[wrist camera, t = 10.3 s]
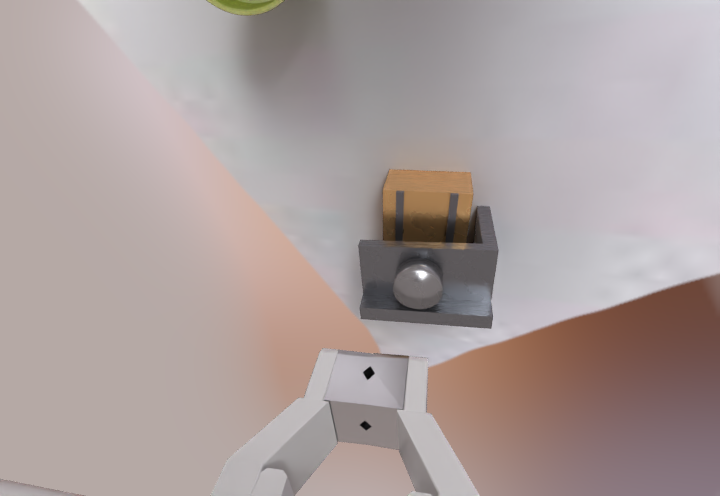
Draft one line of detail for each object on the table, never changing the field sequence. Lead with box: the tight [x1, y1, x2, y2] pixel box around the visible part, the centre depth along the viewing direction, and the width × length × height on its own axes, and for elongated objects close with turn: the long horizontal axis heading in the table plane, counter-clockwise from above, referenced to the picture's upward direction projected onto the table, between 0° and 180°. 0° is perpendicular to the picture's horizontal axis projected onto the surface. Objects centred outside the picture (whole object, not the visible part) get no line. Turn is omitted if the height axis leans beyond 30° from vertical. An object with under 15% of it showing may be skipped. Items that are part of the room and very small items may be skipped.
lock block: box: [383, 169, 473, 243], centre depth 38 cm, size 9×8×5 cm
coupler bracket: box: [358, 206, 498, 329], centre depth 38 cm, size 7×12×10 cm, turn 95°
